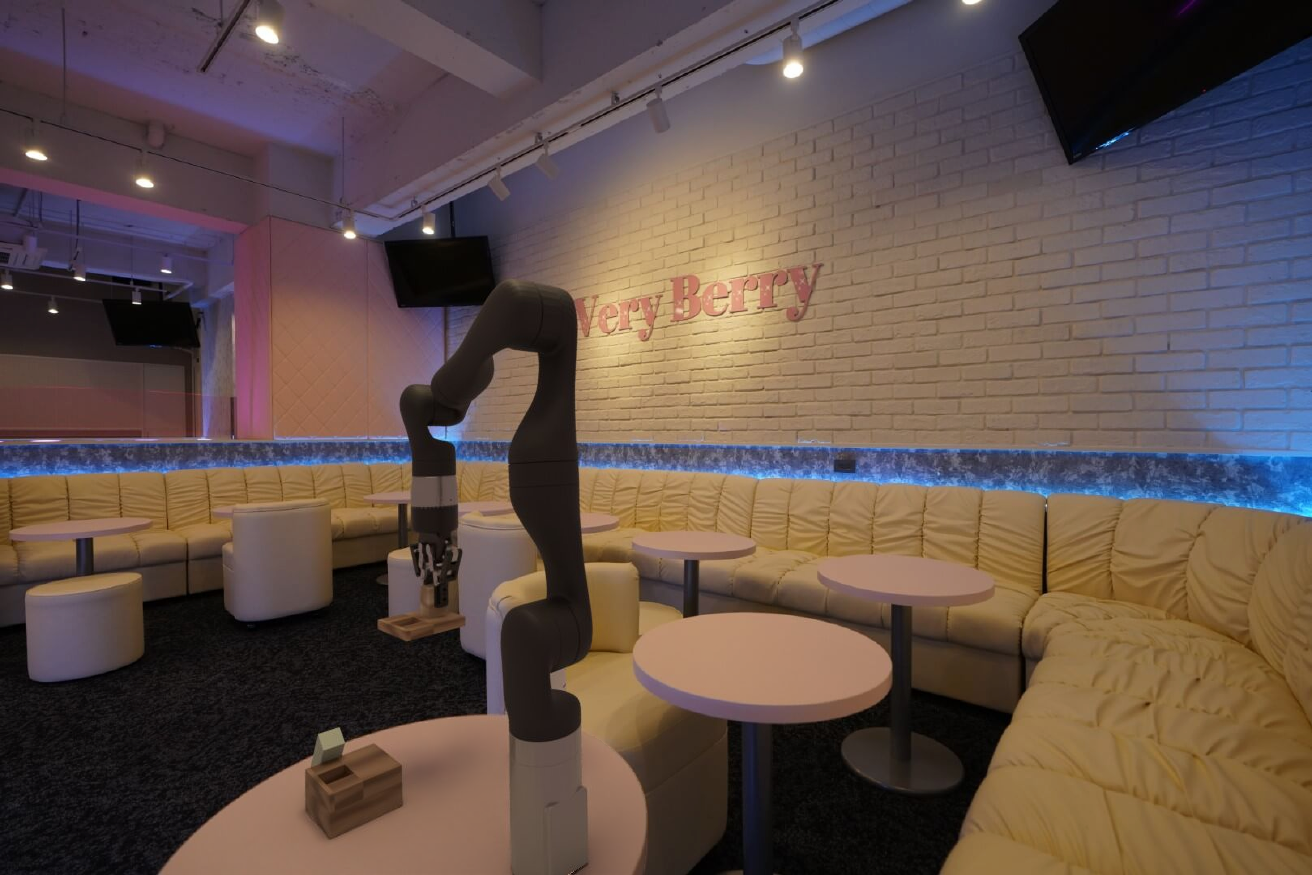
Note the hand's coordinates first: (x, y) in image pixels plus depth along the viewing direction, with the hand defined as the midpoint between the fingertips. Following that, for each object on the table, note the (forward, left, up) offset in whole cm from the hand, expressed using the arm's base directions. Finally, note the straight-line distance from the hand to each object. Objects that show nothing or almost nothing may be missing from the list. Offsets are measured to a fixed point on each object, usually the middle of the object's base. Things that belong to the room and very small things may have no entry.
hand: (435, 604), depth 98 cm
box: (-1, +14, -27) cm, 30 cm away
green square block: (+4, +15, -18) cm, 24 cm away
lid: (0, +3, -3) cm, 4 cm away
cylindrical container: (-12, -13, -27) cm, 33 cm away
